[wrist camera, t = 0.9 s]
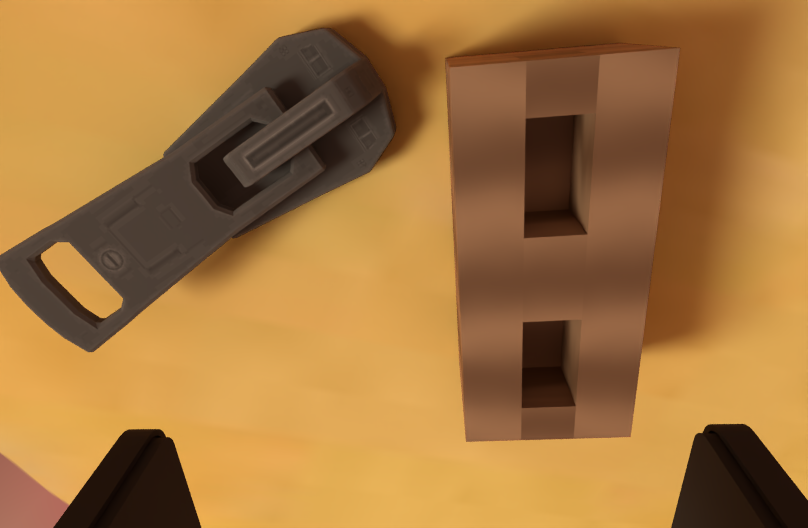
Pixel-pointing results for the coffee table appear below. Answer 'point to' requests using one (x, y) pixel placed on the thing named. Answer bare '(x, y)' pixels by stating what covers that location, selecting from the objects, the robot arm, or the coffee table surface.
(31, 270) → the zipper pull
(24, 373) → the coffee table surface
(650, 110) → the slotted wooden block
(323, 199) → the coffee table surface
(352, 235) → the coffee table surface
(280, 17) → the coffee table surface
